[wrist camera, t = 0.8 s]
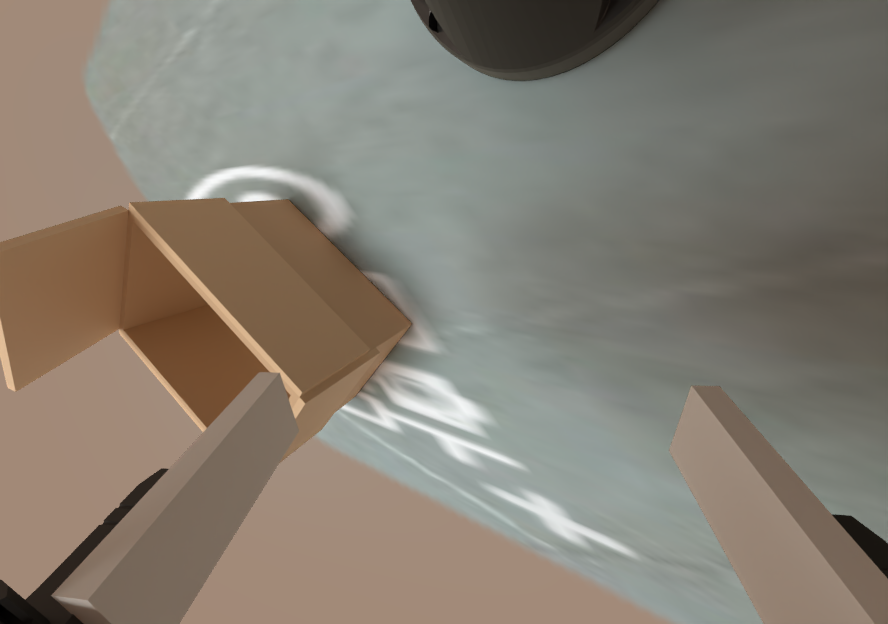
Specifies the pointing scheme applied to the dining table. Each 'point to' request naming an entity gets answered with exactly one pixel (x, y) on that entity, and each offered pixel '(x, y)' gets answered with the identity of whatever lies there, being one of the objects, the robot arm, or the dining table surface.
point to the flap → (60, 292)
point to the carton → (250, 307)
